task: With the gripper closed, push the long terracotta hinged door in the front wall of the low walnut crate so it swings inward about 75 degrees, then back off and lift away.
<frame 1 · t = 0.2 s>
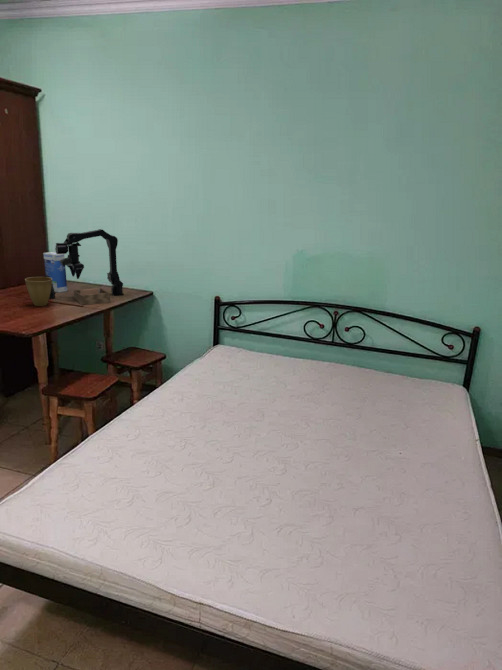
hand: (75, 277, 301), 14 cm above the table, tool pointing down, fingers open, 9 cm apart
door: (90, 293, 305), point 3 cm above the table, hinge at 0.0°
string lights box: (57, 290, 323), on the table
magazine: (44, 298, 301), on the table
plant pot: (41, 305, 285), on the table
crate: (92, 300, 299), on the table
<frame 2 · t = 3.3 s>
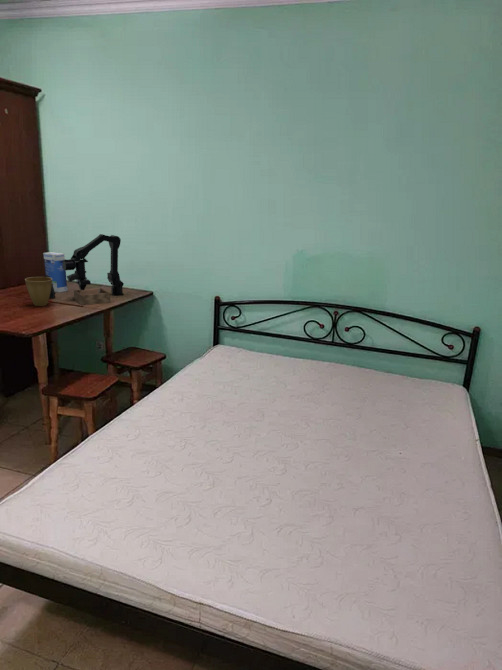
hand: (82, 293, 303), 4 cm above the table, tool pointing down, fingers closed
door: (90, 293, 305), point 3 cm above the table, hinge at 0.1°, touching gripper
everything else where it was.
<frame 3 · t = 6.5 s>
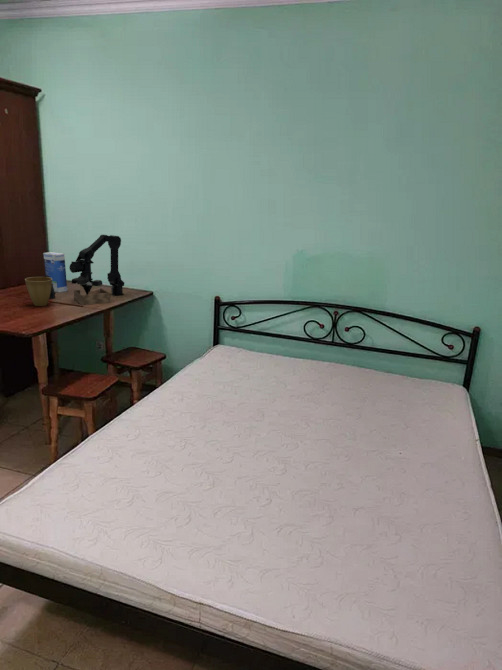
hand: (87, 295, 299), 4 cm above the table, tool pointing down, fingers closed
door: (94, 294, 303), point 3 cm above the table, hinge at 40.2°, touching gripper
everything else where it was.
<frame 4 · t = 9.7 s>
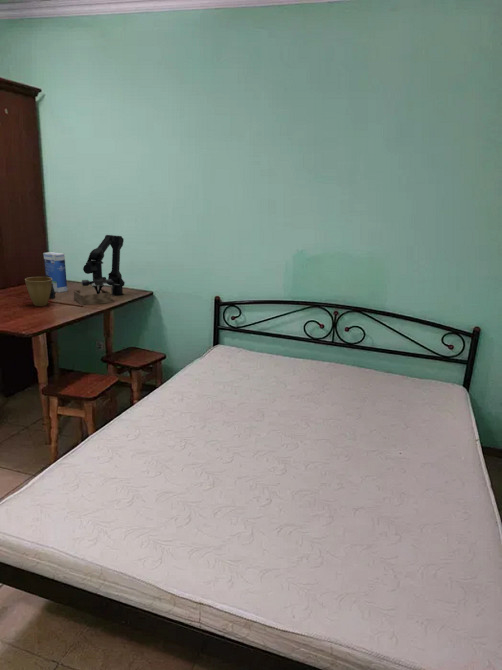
hand: (98, 295, 298), 4 cm above the table, tool pointing down, fingers closed
door: (100, 294, 303), point 3 cm above the table, hinge at 79.0°, touching gripper
everything else where it was.
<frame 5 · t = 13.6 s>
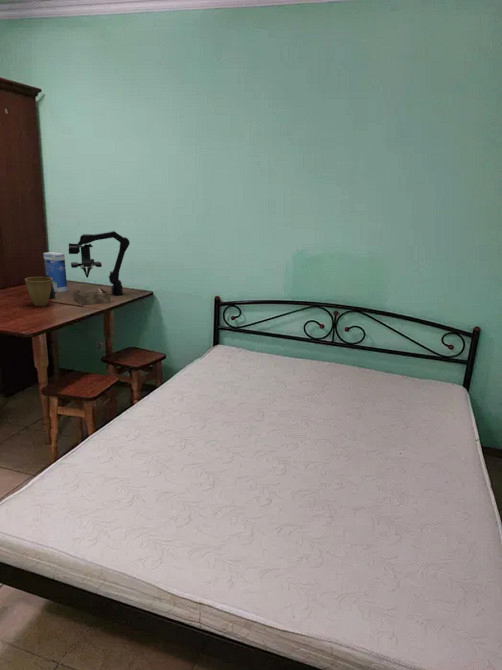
hand: (87, 277, 310), 12 cm above the table, tool pointing down, fingers closed
door: (100, 294, 303), point 3 cm above the table, hinge at 79.2°
everything else where it was.
at the end: door at +79° (first picture: +0°) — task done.
